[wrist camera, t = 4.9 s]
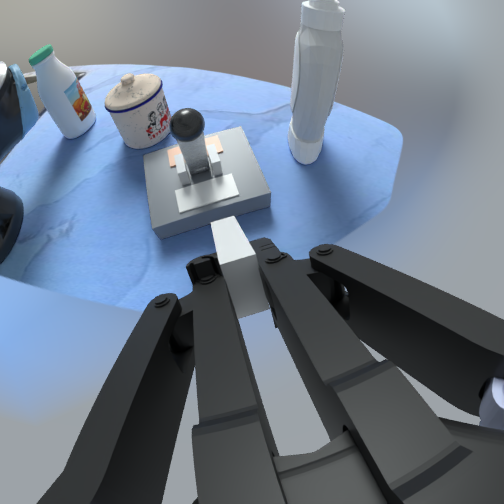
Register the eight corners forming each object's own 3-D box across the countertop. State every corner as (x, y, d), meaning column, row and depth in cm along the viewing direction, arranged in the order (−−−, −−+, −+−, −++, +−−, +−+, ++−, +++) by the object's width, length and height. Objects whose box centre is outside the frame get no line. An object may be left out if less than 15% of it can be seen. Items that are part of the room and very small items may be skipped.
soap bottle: (273, 111, 41) (276, -29, 19) (320, 115, 41) (342, -22, 18) (266, 169, 36) (268, -12, 14) (324, 176, 36) (366, 2, 13)
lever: (214, 175, 33) (207, 126, 20) (190, 182, 33) (170, 138, 20) (207, 153, 33) (198, 97, 20) (184, 160, 33) (163, 108, 20)
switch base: (270, 206, 34) (271, 179, 29) (160, 239, 33) (144, 218, 28) (242, 141, 38) (239, 113, 34) (149, 168, 37) (137, 143, 32)
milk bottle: (77, 143, 41) (29, 63, 23) (59, 137, 43) (14, 67, 24) (103, 115, 44) (66, 35, 25) (83, 111, 45) (47, 41, 27)
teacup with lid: (161, 152, 38) (137, 92, 28) (114, 150, 39) (85, 98, 29) (188, 104, 43) (176, 49, 32) (145, 104, 44) (127, 55, 33)
